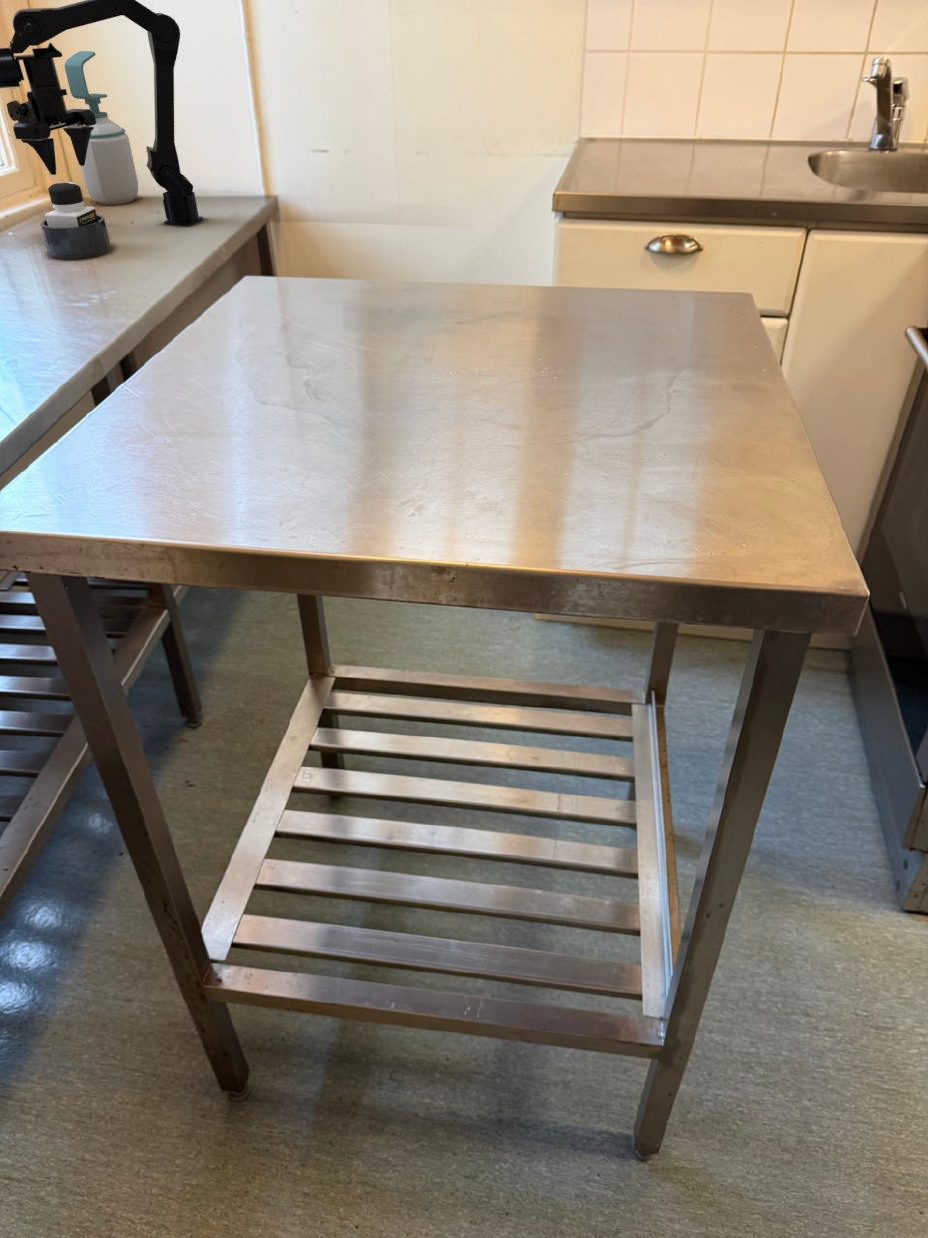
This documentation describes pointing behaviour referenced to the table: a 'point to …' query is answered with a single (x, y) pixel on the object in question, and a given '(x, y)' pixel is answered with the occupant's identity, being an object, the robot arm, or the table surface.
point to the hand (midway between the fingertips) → (68, 169)
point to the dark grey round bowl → (77, 240)
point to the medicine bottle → (69, 207)
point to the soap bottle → (103, 145)
